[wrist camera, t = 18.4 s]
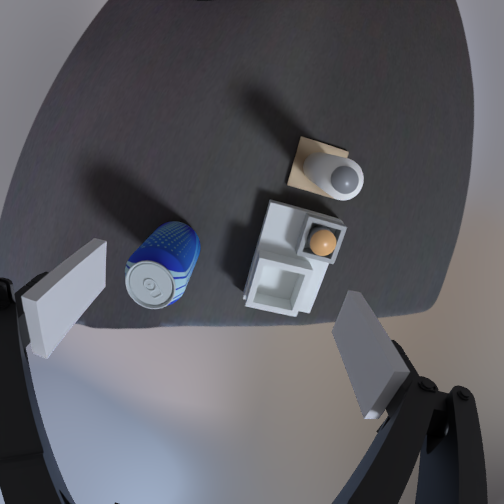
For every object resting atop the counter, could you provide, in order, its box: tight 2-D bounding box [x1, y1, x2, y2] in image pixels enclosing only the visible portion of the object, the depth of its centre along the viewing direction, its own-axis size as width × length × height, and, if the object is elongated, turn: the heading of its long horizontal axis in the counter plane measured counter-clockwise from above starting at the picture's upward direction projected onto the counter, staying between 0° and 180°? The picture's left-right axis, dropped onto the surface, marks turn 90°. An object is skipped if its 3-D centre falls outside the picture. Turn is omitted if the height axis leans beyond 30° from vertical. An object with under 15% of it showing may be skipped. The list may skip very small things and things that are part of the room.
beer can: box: [125, 221, 200, 309], centre depth 44 cm, size 8×8×16 cm
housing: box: [243, 199, 347, 317], centre depth 49 cm, size 17×12×6 cm
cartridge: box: [303, 152, 363, 200], centre depth 40 cm, size 5×5×14 cm
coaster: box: [287, 136, 349, 199], centre depth 47 cm, size 8×8×1 cm
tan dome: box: [307, 225, 336, 256], centre depth 46 cm, size 4×4×3 cm
